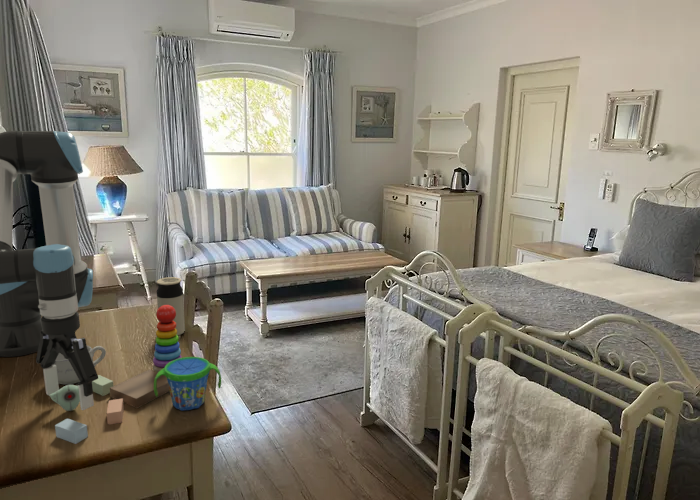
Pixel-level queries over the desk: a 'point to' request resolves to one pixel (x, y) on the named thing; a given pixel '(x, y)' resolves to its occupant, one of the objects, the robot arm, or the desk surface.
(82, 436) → the brick blue
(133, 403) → the plinth
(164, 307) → the stacking toy
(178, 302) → the travel mug
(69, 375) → the teacup
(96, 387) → the brick sage
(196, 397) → the snack cup
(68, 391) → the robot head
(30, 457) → the desk surface
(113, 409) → the brick terracotta
